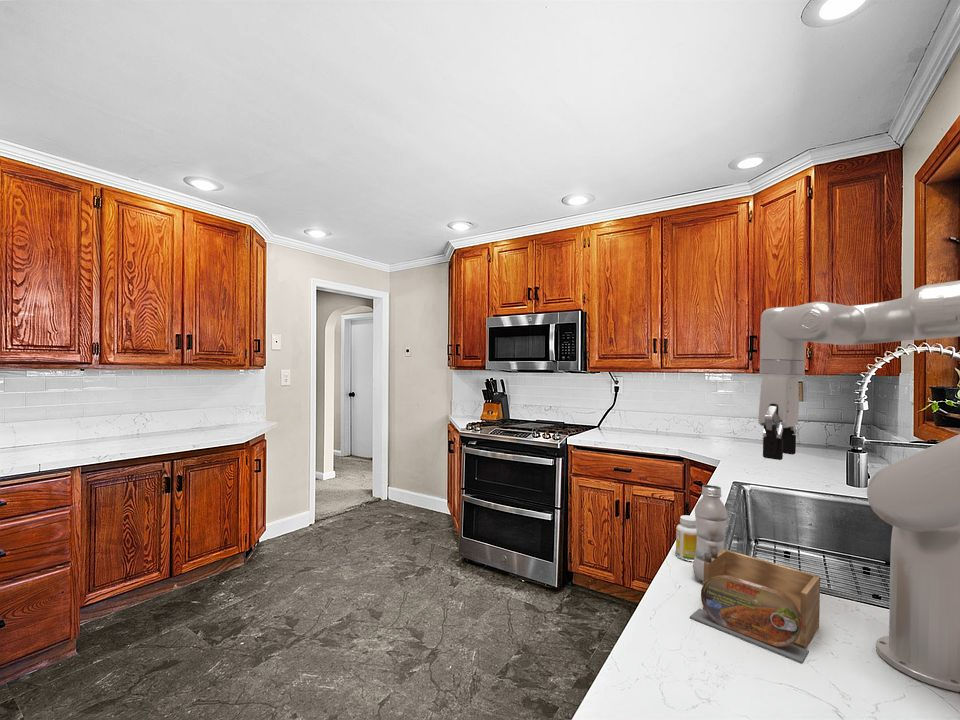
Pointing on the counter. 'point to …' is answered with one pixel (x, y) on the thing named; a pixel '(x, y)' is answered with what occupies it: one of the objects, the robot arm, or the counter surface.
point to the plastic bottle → (709, 526)
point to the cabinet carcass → (772, 584)
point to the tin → (752, 610)
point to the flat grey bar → (787, 651)
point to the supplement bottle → (686, 537)
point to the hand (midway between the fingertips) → (779, 456)
